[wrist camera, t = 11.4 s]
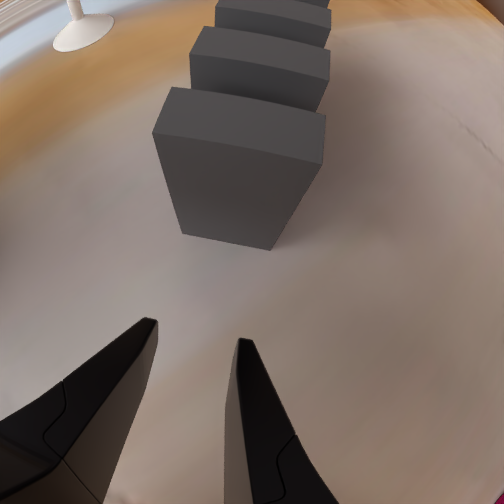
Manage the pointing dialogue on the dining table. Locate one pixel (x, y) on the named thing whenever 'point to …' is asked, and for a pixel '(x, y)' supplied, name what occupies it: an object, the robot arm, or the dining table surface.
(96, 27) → the champagne flute
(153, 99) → the dining table surface
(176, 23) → the dining table surface
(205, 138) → the domino
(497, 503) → the pepper mill
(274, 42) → the domino
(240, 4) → the domino
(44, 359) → the dining table surface
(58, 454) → the robot arm
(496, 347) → the dining table surface
